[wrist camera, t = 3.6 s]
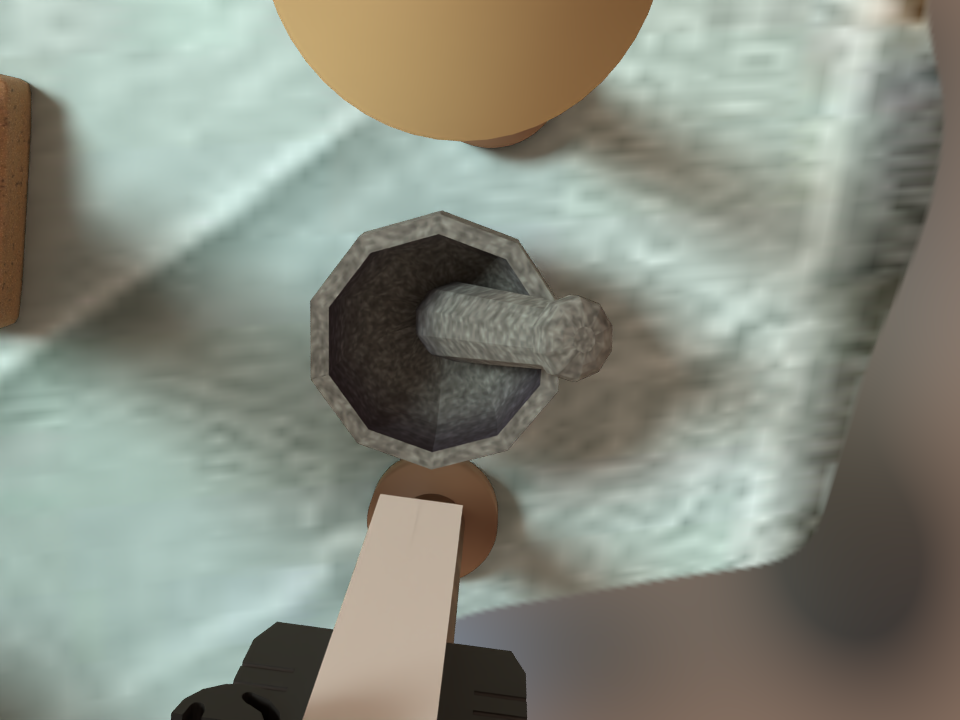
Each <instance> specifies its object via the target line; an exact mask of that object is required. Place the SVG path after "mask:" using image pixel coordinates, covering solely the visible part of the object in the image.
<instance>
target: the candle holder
mask: <svg viewBox="0 0 960 720" xmlns="http://www.w3.org/2000/svg"><path fill="white" fill-rule="evenodd" d="M30 136H31V90H30V87H29V84H28V83H27V82H25V81H23V80H21V79H19V78H15V77H10V76H6V75H2V74H0V328H2V327H5V326H8V325H10V324H13V323H15V322H16V320H17V318H18V316H19V309H20V300H21V291H22V278H23V261H24V243H25V225H26V207H27V190H28V172H29V154H30Z"/></svg>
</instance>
